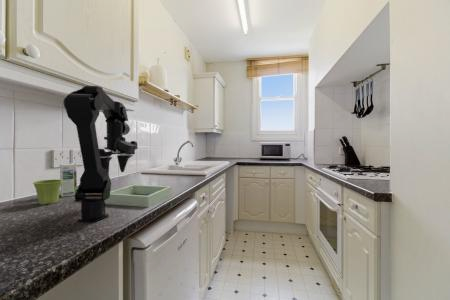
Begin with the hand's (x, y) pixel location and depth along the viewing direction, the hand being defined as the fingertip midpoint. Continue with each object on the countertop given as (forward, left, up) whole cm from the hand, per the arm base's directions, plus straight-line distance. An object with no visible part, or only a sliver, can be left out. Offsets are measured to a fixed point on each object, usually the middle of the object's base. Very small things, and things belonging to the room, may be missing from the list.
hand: (114, 173), depth 92 cm
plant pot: (-6, +26, -12) cm, 29 cm away
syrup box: (+7, +30, -12) cm, 33 cm away
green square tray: (+8, -6, -12) cm, 16 cm away
